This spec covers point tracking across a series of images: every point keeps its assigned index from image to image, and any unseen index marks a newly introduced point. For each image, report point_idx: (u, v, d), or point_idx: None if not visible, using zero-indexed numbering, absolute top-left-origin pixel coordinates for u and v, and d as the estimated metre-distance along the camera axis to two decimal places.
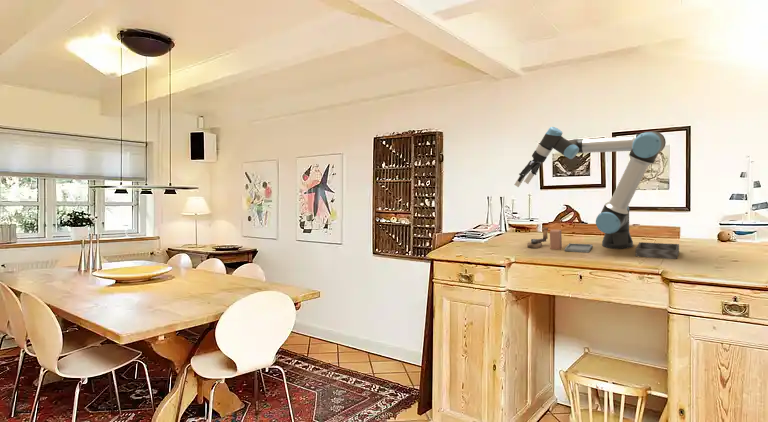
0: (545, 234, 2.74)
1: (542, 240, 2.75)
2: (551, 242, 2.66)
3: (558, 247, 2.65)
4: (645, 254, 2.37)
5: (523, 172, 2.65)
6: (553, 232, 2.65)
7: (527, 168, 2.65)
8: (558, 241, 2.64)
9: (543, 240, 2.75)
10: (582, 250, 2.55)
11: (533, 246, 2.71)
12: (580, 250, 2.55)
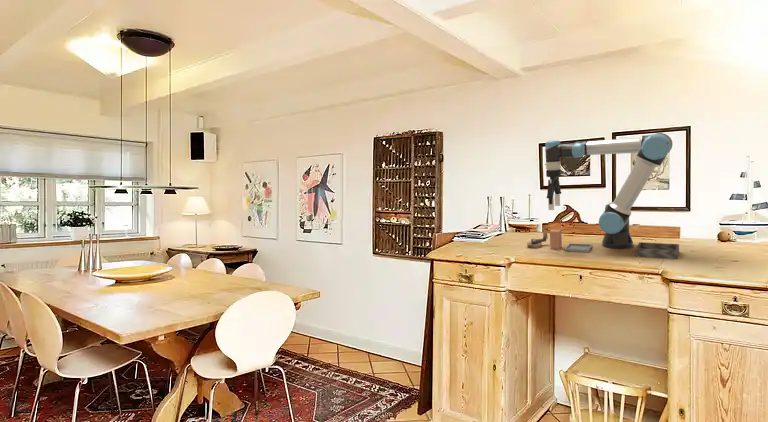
0: (545, 234, 2.74)
1: (542, 240, 2.75)
2: (551, 242, 2.66)
3: (558, 247, 2.65)
4: (645, 254, 2.37)
5: (549, 193, 2.55)
6: (553, 232, 2.65)
7: (550, 187, 2.56)
8: (558, 241, 2.64)
9: (543, 240, 2.75)
10: (582, 250, 2.55)
11: (533, 246, 2.71)
12: (580, 250, 2.55)
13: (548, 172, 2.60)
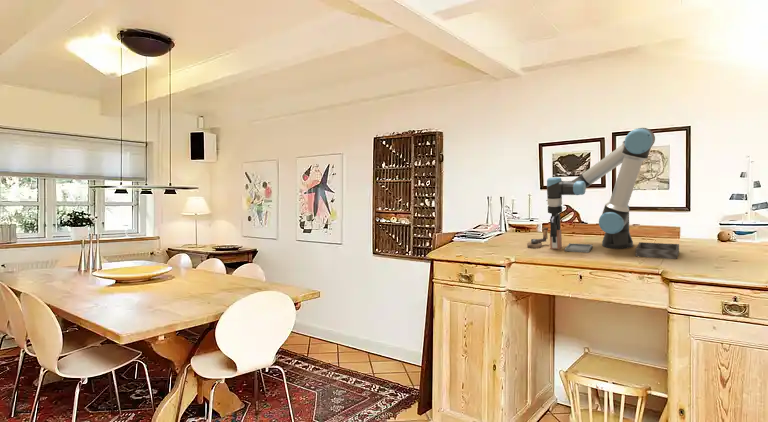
0: (545, 234, 2.74)
1: (542, 240, 2.75)
2: (551, 242, 2.66)
3: (558, 247, 2.65)
4: (645, 254, 2.37)
5: (552, 232, 2.61)
6: None
7: (553, 227, 2.61)
8: (558, 241, 2.64)
9: (543, 240, 2.75)
10: (582, 250, 2.55)
11: (533, 246, 2.71)
12: (580, 250, 2.55)
13: (550, 208, 2.63)
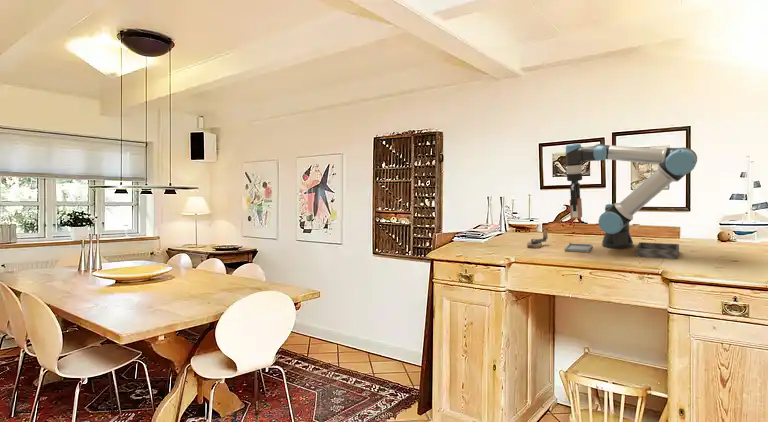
0: (545, 234, 2.74)
1: (542, 240, 2.75)
2: (571, 211, 2.58)
3: (579, 216, 2.56)
4: (645, 254, 2.37)
5: (573, 200, 2.53)
6: None
7: (573, 194, 2.52)
8: (578, 210, 2.55)
9: (543, 240, 2.75)
10: (582, 250, 2.55)
11: (533, 246, 2.71)
12: (580, 250, 2.55)
13: (569, 176, 2.54)
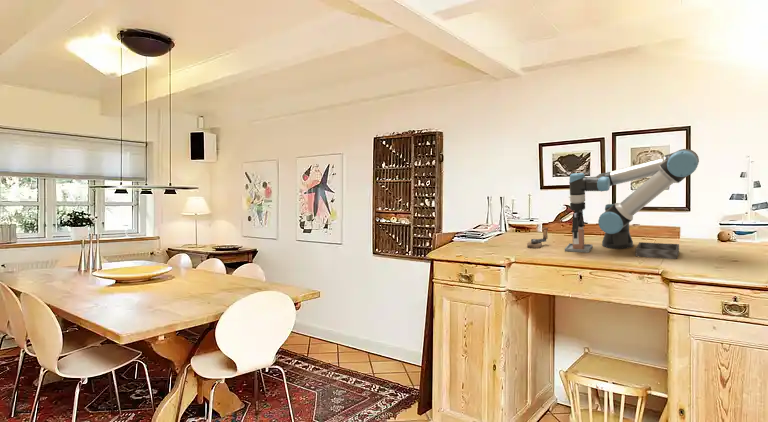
0: (545, 234, 2.74)
1: (542, 240, 2.75)
2: None
3: (581, 247, 2.58)
4: (645, 254, 2.37)
5: (574, 227, 2.52)
6: None
7: (575, 221, 2.52)
8: (581, 241, 2.58)
9: (543, 240, 2.75)
10: (582, 250, 2.55)
11: (533, 246, 2.71)
12: (580, 250, 2.55)
13: (572, 205, 2.56)
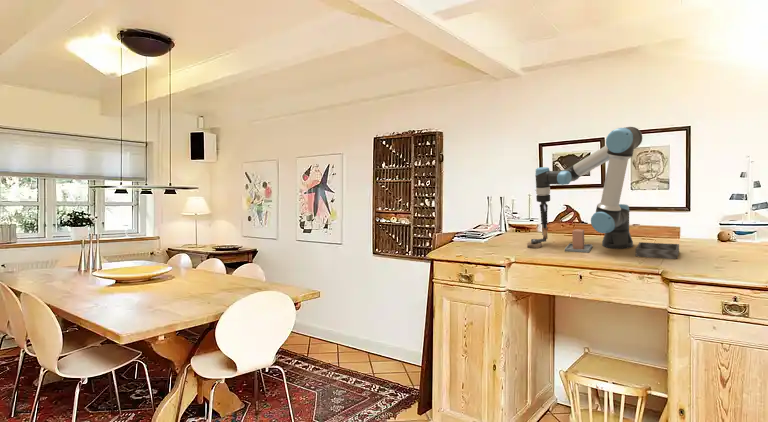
0: (545, 234, 2.74)
1: (542, 240, 2.75)
2: (573, 242, 2.60)
3: (581, 247, 2.58)
4: (645, 254, 2.37)
5: (545, 220, 2.73)
6: (575, 231, 2.58)
7: (545, 215, 2.72)
8: (581, 241, 2.58)
9: (543, 240, 2.75)
10: (582, 250, 2.55)
11: (533, 246, 2.71)
12: (580, 250, 2.55)
13: (540, 197, 2.73)
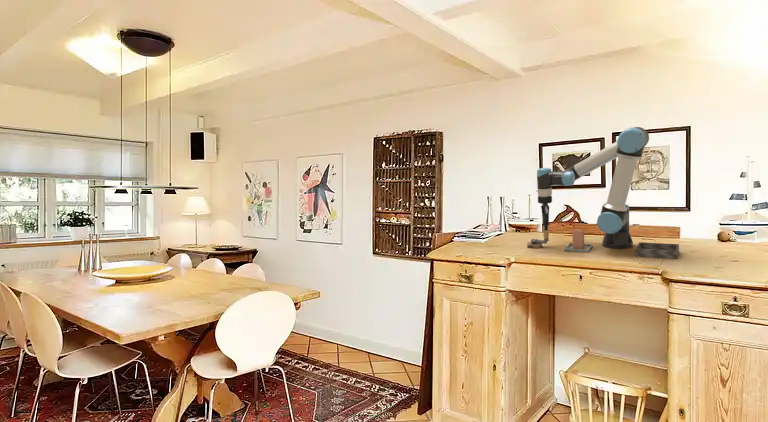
0: (544, 236, 2.69)
1: (541, 242, 2.71)
2: (573, 242, 2.60)
3: (581, 247, 2.58)
4: (645, 254, 2.37)
5: (546, 222, 2.67)
6: (575, 231, 2.58)
7: (547, 217, 2.66)
8: (581, 241, 2.58)
9: (542, 242, 2.71)
10: (582, 250, 2.55)
11: (533, 246, 2.71)
12: (580, 250, 2.55)
13: (542, 199, 2.66)
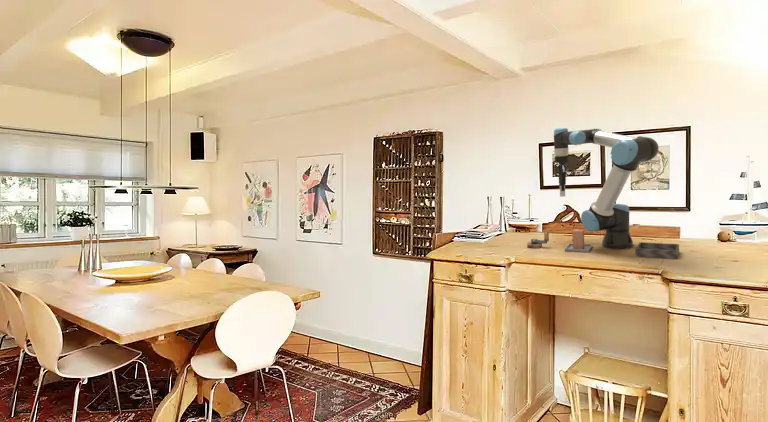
0: (545, 236, 2.69)
1: (541, 242, 2.71)
2: (573, 242, 2.60)
3: (581, 247, 2.58)
4: (645, 254, 2.37)
5: (563, 181, 2.73)
6: (575, 231, 2.58)
7: (564, 176, 2.72)
8: (581, 241, 2.58)
9: (543, 242, 2.71)
10: (582, 250, 2.55)
11: (533, 246, 2.71)
12: (580, 250, 2.55)
13: (559, 158, 2.72)
